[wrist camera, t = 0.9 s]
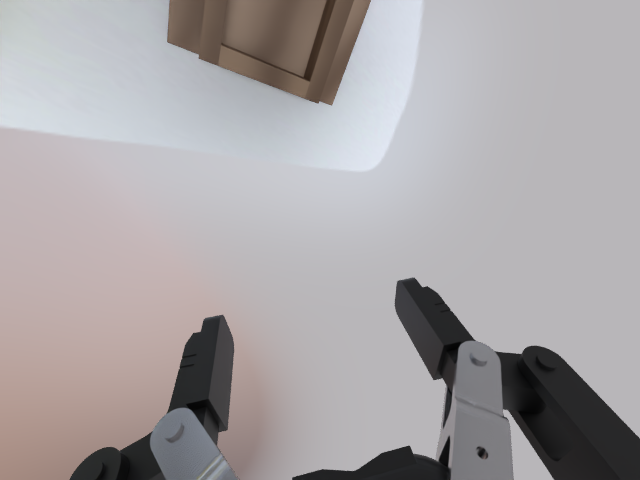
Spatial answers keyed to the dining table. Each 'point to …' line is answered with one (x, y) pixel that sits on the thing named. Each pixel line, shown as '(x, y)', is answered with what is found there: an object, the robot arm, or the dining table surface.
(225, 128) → the dining table surface
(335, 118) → the dining table surface
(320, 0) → the wooden tray
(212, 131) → the dining table surface
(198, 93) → the dining table surface
